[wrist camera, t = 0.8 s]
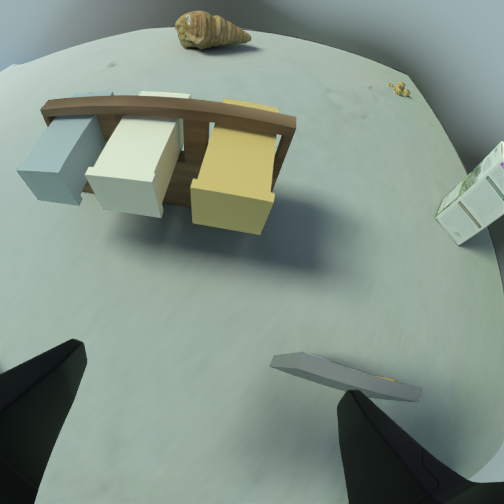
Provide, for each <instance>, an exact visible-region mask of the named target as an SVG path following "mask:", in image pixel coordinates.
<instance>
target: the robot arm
mask: <svg viewBox="0 0 504 504" xmlns="http://www.w3.org/2000/svg"><path fill="white" fill-rule="evenodd" d="M86 365H87V356H86V351H85V346H84V343H83V342H82V341H79V340H76V339H70V340H68V341H66V342H64V343H62V344H60V345H58V346H56V347H54V348H52V349H50V350H48V351H46V352H44V353H42V354H40V355H38V356H36V357H34V358H32V359H30V360H28V361H26V362H24V363H22V364H20V365H18V366H16V367H14V368H12V369H10V370H8V371H6V372H4V373H2V374H0V504H34V503H35V499H36V496H37V493H38V488H39V486H40V483H41V480H42V477H43V474H44V471H45V469H46V466H47V463H48V460H49V458H50V455H51V453H52V450H53V448H54V445H55V443H56V440H57V438H58V435H59V433H60V431H61V428H62V426H63V424H64V422H65V419H66V417H67V415H68V413H69V410H70V408H71V406H72V404H73V402H74V399H75V396H76V394H77V391H78V388H79V385H80V382H81V379H82V376H83V374H84V371H85V368H86ZM337 415H338V430H339V444H340V450H341V456H342V462H343V468H344V474H345V480H346V487H347V493H348V500H349V504H504V482H490V483H476V482H471V481H469V480H467V479H465V478H464V477H462V476H461V475H459V474H458V473H456V472H455V471H453V470H452V469H450V468H449V467H447V466H446V465H444V464H443V463H442V462H440V461H439V460H438V459H436V458H435V457H434V456H433V455H431V454H430V453H429V452H428V451H427V450H426V449H424V448H423V447H422V446H421V445H420V444H419V443H417V442H416V441H415V440H414V439H413V438H412V437H411V436H410V435H408V434H407V433H406V432H405V431H404V430H403V429H402V428H401V427H399V426H398V425H397V424H396V423H395V422H394V421H393V420H392V419H391V418H390V417H388V416H387V415H386V414H385V413H384V412H383V411H382V410H381V409H380V408H379V407H377V406H376V405H375V404H374V403H373V402H372V401H371V400H370V399H369V398H368V397H367V396H365V395H364V394H363V393H362V392H361V391H360V390H358V389H349V390H347V391H346V393H345V394H344V396H343V397H342V399H341V400H340V402H339V403H338V406H337Z"/></svg>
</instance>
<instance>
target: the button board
mask: <svg viewBox="0 0 504 504" xmlns="http://www.w3.org/2000/svg"><path fill="white" fill-rule="evenodd" d="M40 111H41V113H42V115H43V117H44V120H45V122H46V124H47V126H48V127H49V125H50V124H51V123H52V121H53V120H54V119H55V117H56V116H64V115H91V114H97V118H98V121H99V124H100V127H101V131H102V134H103V137H104V140H105V143H106V144H107V142H108V140H109V139H110V137H111V135H112V134H113V132H114V130H115V129H116V127H117V126H118V124H119V123H120V121H121V119H122V118H123V116H124V115H143V116H159V117H171V118H181V119H183V134H184V151H181V152H180V155H179V157H178V160H177V163H176V165H175V168H174V171H173V173H172V176H171V179H170V182H169V184H168V187H167V190H166V193H165V196H164V199H163V202H162V203H168V204H174V205H181V206H187V207H191V191H190V187H191V184H192V180H193V179H198V175H199V172H200V169H201V166H202V162H203V159H204V156H205V153H206V150H207V147H208V139H209V122H214V123H220V124H227V125H233V126H239V127H245V128H250V129H255V130H260V131H265V132H270V133H275V134H279V135H282V137H281V139H280V142H279V145H278V148H277V151H276V154H275V157H274V164H273V174H272V184H271V192H272V190H273V188H274V185H275V182H276V180H277V177H278V175H279V172H280V169H281V167H282V164H283V161H284V159H285V156H286V154H287V151H288V148H289V146H290V143H291V141H292V138H293V135H294V133H295V130H296V117H293V116H289V115H285V114H280V113H276V112H271V111H266V110H261V109H256V108H251V107H246V106H240V105H234V104H227V103H220V102H213V101H205V100H196V99H187V98H175V97H160V96H88V97H74V98H63V99H54V100H48V101H47V102H46V104H45V105H44V106H43V107H42V108H41V110H40ZM82 192H89V193H94V191H93V190H92V188H91V186H90V184H89V182H88V180H87V182H86V184H85V186H84V188H83V190H82Z"/></svg>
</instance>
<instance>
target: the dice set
mask: <svg viewBox="0 0 504 504" xmlns="http://www.w3.org/2000/svg"><path fill="white" fill-rule="evenodd" d="M388 85H389V86H391V87H392V85H393V84H391V83H390V82H389V83H388ZM404 87H405V84H404V83H403V82H401V81H400V82H399V83H398V84H397V86H396V87H394V86H393V89H394V90H395V93H396V94H397V95H399V96H400V95H401V94H403V95H404V96H406V97H408V96H409V94H410V92H409V91H408V90H407V89H404V91H403V90H402V89H403V88H404Z"/></svg>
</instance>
